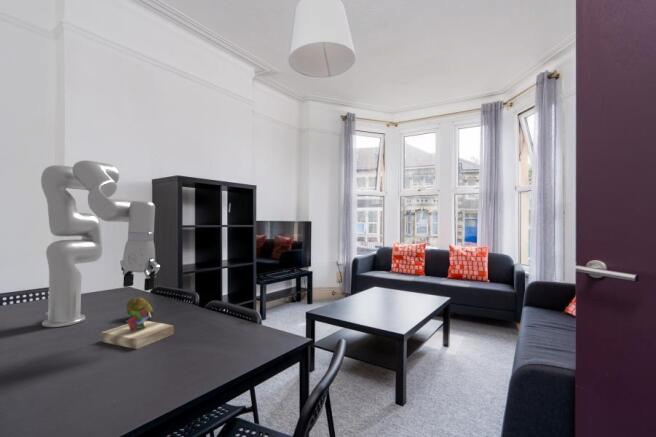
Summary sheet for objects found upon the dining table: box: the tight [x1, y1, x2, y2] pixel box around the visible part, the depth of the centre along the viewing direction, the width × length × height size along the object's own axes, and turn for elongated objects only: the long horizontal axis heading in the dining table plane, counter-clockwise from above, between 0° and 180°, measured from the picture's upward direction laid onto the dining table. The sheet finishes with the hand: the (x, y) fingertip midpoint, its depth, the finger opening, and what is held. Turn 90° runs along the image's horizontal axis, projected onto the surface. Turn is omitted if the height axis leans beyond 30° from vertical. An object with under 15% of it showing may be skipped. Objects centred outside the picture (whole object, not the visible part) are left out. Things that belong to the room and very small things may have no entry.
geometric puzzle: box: [125, 308, 152, 331], centre depth 105 cm, size 7×7×8 cm
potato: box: [125, 297, 155, 321], centre depth 125 cm, size 8×13×8 cm, turn 41°
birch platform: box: [100, 320, 175, 350], centre depth 105 cm, size 16×14×3 cm
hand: (138, 287), depth 105 cm, fingers open, 9 cm apart
